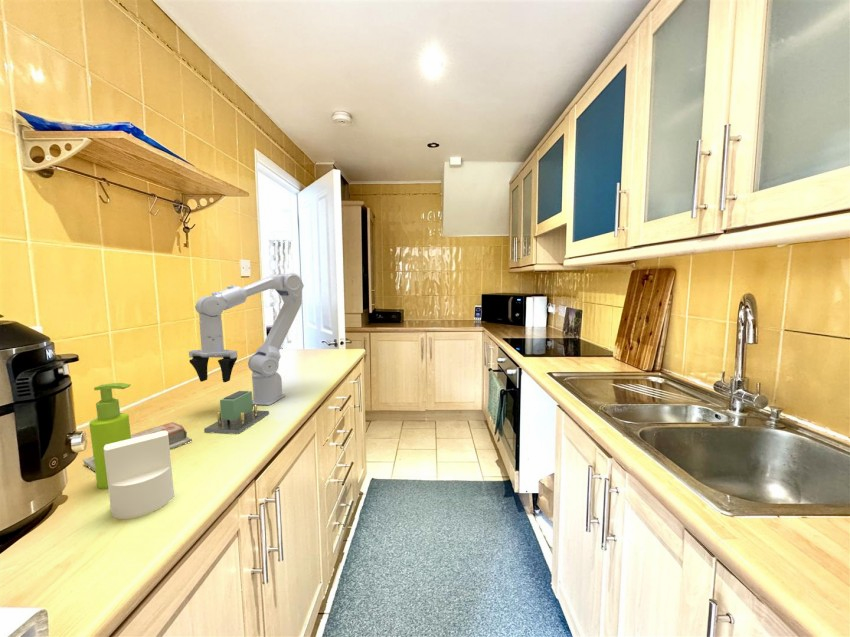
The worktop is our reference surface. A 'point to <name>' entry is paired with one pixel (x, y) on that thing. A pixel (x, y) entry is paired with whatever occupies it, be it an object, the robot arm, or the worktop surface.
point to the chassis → (236, 422)
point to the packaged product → (174, 430)
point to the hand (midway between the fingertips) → (215, 381)
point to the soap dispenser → (107, 428)
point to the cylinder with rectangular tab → (139, 475)
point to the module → (236, 405)
